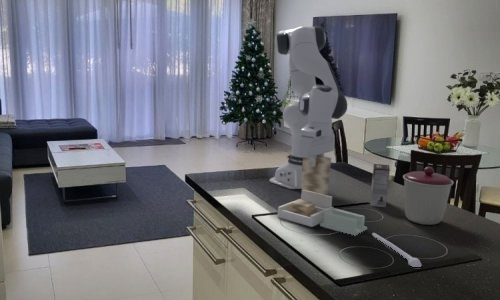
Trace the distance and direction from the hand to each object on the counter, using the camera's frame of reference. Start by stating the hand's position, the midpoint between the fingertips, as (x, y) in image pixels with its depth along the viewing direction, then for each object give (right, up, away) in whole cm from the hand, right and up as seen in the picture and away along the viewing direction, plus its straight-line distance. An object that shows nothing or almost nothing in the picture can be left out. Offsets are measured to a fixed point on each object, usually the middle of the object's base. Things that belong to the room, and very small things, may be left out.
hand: (316, 165), depth 192 cm
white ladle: (+21, -27, -28) cm, 44 cm away
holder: (+8, -22, -10) cm, 26 cm away
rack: (-4, -20, 0) cm, 20 cm away
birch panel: (-1, -10, +2) cm, 10 cm away
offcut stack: (-5, -20, -2) cm, 21 cm away
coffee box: (+29, -17, +22) cm, 40 cm away
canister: (+41, -21, +3) cm, 46 cm away
